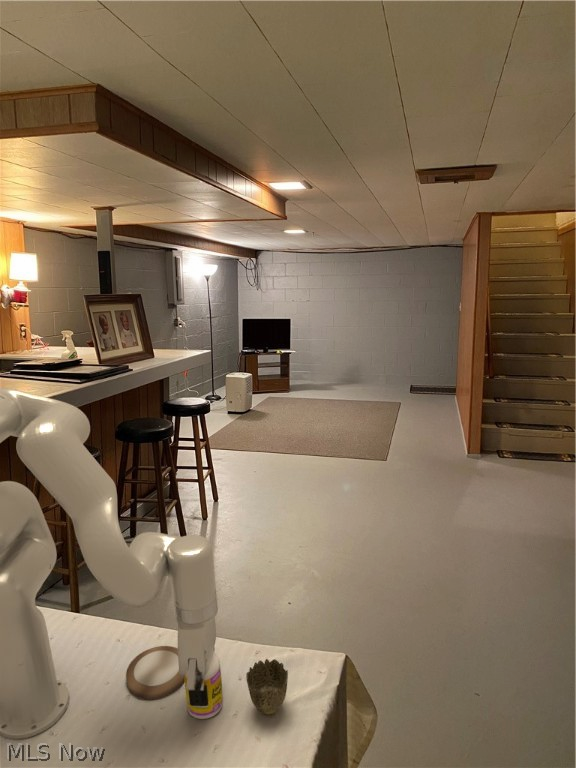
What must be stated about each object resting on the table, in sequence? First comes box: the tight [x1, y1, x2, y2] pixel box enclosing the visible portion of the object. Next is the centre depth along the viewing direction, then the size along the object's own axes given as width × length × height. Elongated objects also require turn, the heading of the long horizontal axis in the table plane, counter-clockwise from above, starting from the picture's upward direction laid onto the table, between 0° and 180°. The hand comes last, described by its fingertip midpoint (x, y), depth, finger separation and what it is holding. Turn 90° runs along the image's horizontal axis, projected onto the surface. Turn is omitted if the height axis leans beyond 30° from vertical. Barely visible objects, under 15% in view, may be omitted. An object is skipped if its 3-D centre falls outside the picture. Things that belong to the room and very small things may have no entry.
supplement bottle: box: [184, 649, 224, 720], centre depth 102 cm, size 7×7×13 cm
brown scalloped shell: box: [245, 658, 289, 717], centre depth 101 cm, size 8×7×8 cm
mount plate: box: [125, 645, 185, 700], centre depth 111 cm, size 12×12×2 cm
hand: (203, 686), depth 102 cm, fingers closed on supplement bottle, 6 cm apart
